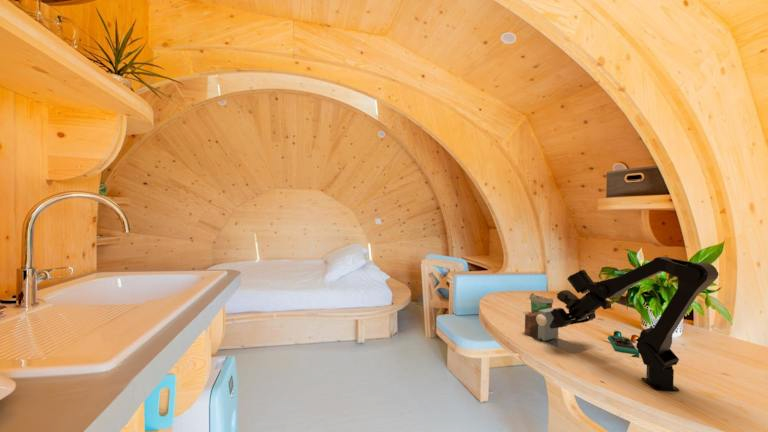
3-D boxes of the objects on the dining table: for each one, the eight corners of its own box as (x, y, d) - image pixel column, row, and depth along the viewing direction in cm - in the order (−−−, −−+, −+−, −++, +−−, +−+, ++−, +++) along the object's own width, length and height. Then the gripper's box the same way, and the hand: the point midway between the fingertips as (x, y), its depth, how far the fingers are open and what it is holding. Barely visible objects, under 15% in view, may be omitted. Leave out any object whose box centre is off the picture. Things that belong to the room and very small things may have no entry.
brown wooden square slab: (543, 332, 140) (543, 313, 140) (529, 336, 137) (530, 316, 137) (538, 330, 143) (538, 312, 142) (524, 333, 139) (525, 314, 139)
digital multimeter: (629, 344, 133) (629, 336, 133) (639, 359, 120) (639, 350, 120) (607, 341, 136) (607, 333, 136) (614, 355, 123) (615, 347, 123)
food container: (523, 313, 170) (523, 293, 170) (532, 312, 172) (532, 292, 172) (544, 321, 159) (544, 299, 158) (553, 319, 161) (553, 298, 161)
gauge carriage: (559, 338, 134) (560, 310, 134) (542, 342, 129) (543, 313, 129) (546, 333, 139) (547, 306, 139) (530, 337, 134) (531, 309, 134)
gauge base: (588, 352, 124) (588, 349, 124) (570, 357, 120) (571, 354, 119) (536, 332, 144) (536, 329, 144) (519, 336, 139) (520, 333, 139)
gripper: (588, 282, 129) (560, 304, 139) (556, 287, 121) (529, 309, 131) (609, 308, 122) (579, 329, 132) (577, 315, 114) (547, 337, 124)
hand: (558, 325), depth 130 cm, fingers open, 9 cm apart
